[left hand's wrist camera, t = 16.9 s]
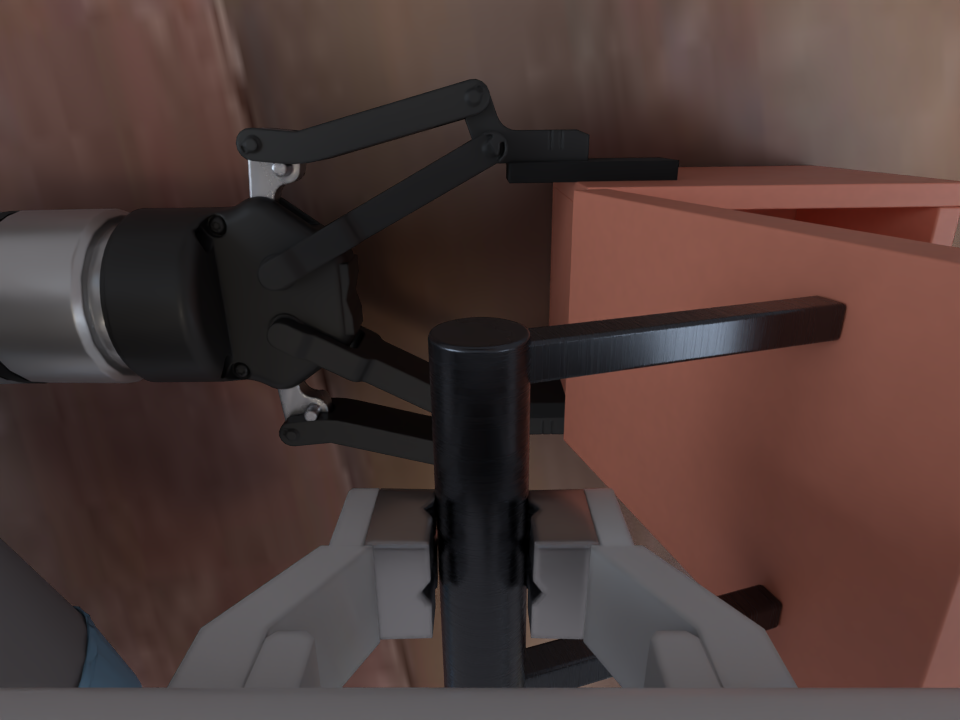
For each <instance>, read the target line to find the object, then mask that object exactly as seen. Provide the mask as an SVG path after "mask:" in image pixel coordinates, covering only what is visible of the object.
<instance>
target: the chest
mask: <svg viewBox="0 0 960 720" xmlns="http://www.w3.org/2000/svg"><path fill="white" fill-rule="evenodd" d="M587 189H611V190H617V191H623V192H629V193H635V194H641V195H647V196H653V197H659V198H665V199H671V200H677V201H683V202H689V203H695V204H701V205H707V206H713V207H719V208H725V209H730V210H736V211H742V212H748V213H754V214H760V215H766V216H772V217H778V218H784V219H790V220H796V221H802V222H808V223H814V224H820V225H826V226H832V227H838V228H844V229H850V230H856V231H862V232H868V233H874V234H880V235H886V236H892V237H898V238H904V239H909V240H915V241H921V242H927V243H933V244H939V245H945V246H951V247H952V243H953V239H954V236H955V232H956V228H957V224H958V221H959V217H960V181H953V180H944V179H934V178H925V177H915V176H906V175H897V174H887V173H878V172H869V171H859V170H850V169H840V168H831V167H822V166H811V165H805V166H733V167H678V177H677V180H659V181H589V182H557V183H553V203H552V238H551V272H550V307H549V326H554V325H563V324H568V320H569V296H570V272H571V247H572V223H573V199H574V191H575V190H587ZM560 380H561V383H562V386H563V389H564V393H565V394H566V379H560Z"/></svg>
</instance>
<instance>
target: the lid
mask: <svg viewBox="0 0 960 720" xmlns="http://www.w3.org/2000/svg"><path fill="white" fill-rule="evenodd" d="M428 349H429V370H430V392H431V413H432V434H433V455H434V476H435V497H436V518H437V539H438V560H439V581H440V602H441V623H442V645H443V666H444V687H445V688H577V687H580V686H584V685H587V684H590V683H594V682H597V681H600V680H604V679H607V678H610V677H613V676H612V675H611V674H610V673H609V671H608V670H607V669H606V668H605V667H604V666H603V664H602V663H601V662H600V661H599V660H598V658H597V657H596V656H595V655H594V654H593V653H592V651H591V650H590V649H589V648H588V647H587V645H586V644H585V643H584V642H583V640H584V639H558V640H554V641H550V642H547V643H543V644H539V645H536V646H532V647H528V648H526V599H527V588H526V553H527V543H528V535H527V515H528V487H529V431H530V383H537V382H544V381H551V380H559V379H566V394H565V418H564V441H565V442H566V443H567V444H568V445H569V446H570V447H571V448H572V449H573V450H574V451H575V452H576V453H577V454H578V456H579V457H580V458H581V459H582V460H583V461H584V462H585V463H586V464H587V465H588V466H589V467H590V468H591V469H592V470H593V472H594V473H595V474H596V475H597V476H598V477H599V478H600V479H601V480H602V481H603V482H604V483H605V484H606V485H607V487H608V488H611V489H612V490H614V492H615V495H616V496H617V497H618V498H619V499H620V500H621V501H622V503H623V504H624V505H625V506H626V507H627V508H628V509H629V510H630V511H631V512H632V513H633V514H634V515H635V516H636V517H637V519H638V520H639V521H640V522H641V523H642V524H643V525H644V526H645V527H646V528H647V529H648V530H649V531H650V532H651V534H652V535H653V536H654V537H655V538H656V539H657V540H658V541H659V542H660V543H661V544H662V545H663V546H664V547H665V548H666V550H667V551H668V552H669V553H670V554H671V555H672V556H673V557H674V558H675V559H676V560H677V561H678V562H679V563H680V564H681V566H682V567H683V568H684V569H685V570H686V571H687V572H688V573H689V574H690V575H691V576H692V577H693V578H694V579H695V581H696V582H697V583H698V584H700V585H701V586H703V587H704V588H705V589H707V590H708V591H710V592H711V593H713V594H714V595H716V596H717V597H719V598H720V599H722V600H723V601H724V602H726V603H727V604H729V605H730V606H732V607H733V608H735V609H736V610H738V611H739V612H740V613H742V614H743V615H745V616H746V617H748V618H749V619H751V620H752V621H754V622H755V623H756V624H758V625H759V626H761V627H762V628H764V629H765V631H766V632H767V634H768V636H769V638H770V639H771V641H772V643H773V645H774V647H775V648H776V650H777V652H778V654H779V655H780V657H781V659H782V661H783V662H784V664H785V666H786V668H787V669H788V671H789V673H790V675H791V676H792V678H793V680H794V682H795V683H796V685H797V687H798V688H960V248H957V247H951V246H945V245H939V244H933V243H927V242H921V241H915V240H909V239H904V238H898V237H892V236H886V235H880V234H874V233H868V232H862V231H856V230H850V229H844V228H838V227H832V226H826V225H820V224H814V223H808V222H802V221H796V220H790V219H784V218H778V217H772V216H766V215H760V214H754V213H748V212H742V211H736V210H730V209H725V208H719V207H713V206H707V205H701V204H695V203H689V202H683V201H677V200H671V199H665V198H659V197H653V196H647V195H641V194H635V193H629V192H623V191H617V190H611V189H587V190H575V191H574V199H573V223H572V247H571V272H570V296H569V320H568V324H563V325H554V326H545V327H537V328H527V327H525V326H524V325H522V324H520V323H517V322H514V321H510V320H506V319H500V318H491V317H472V318H462V319H456V320H452V321H448V322H445V323H442V324H439V325H437V326H436V327H434V328H433V329H432V330H431V331H430V333H429V336H428Z"/></svg>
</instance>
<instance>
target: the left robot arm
mask: <svg viewBox="0 0 960 720" xmlns="http://www.w3.org/2000/svg"><path fill="white" fill-rule="evenodd" d="M436 528H437V518H436V497H435V489H387V488H381V489H379V488H353V489H351V490H350V491H349V492H348V495H347V497H346V500H345V503H344V505H343V508H342V511H341V514H340V516H339V519H338V522H337V525H336V527H335V530H334V533H333V535H332V538H331V541H330V544H329V546H319V547H318V548H316V549H315V550H313V551H312V552H311V553H309V554H308V555H306V556H305V557H303V558H302V559H300V560H299V561H297V562H296V563H295V564H293V565H292V566H290V567H289V568H287V569H286V570H284V571H283V572H282V573H280V574H279V575H277V576H276V577H274V578H273V579H271V580H270V581H268V582H267V583H266V584H264V585H263V586H261V587H260V588H258V589H257V590H255V591H254V592H252V593H251V594H250V595H248V596H247V597H245V598H244V599H242V600H241V601H239V602H238V603H236V604H235V605H234V606H232V607H231V608H229V609H228V610H226V611H225V612H223V613H222V614H221V615H219V616H218V617H216V618H215V619H213V620H212V621H210V622H209V623H207V624H206V625H205V626H203V627H202V628H200V630H199V632H198V634H197V636H196V637H195V639H194V641H193V643H192V644H191V646H190V648H189V650H188V651H187V653H186V655H185V657H184V658H183V660H182V662H181V664H180V666H179V667H178V669H177V671H176V673H175V674H174V676H173V678H172V680H171V681H170V683H169V685H168V687H167V688H0V720H960V688H798V687H797V685H796V683H795V682H794V680H793V678H792V676H791V675H790V673H789V671H788V669H787V668H786V666H785V664H784V662H783V661H782V659H781V657H780V655H779V654H778V652H777V650H776V648H775V647H774V645H773V643H772V641H771V639H770V638H769V636H768V634H767V632H766V631H765V629H764V628H762V627H761V626H759V625H758V624H756V623H755V622H754V621H752V620H751V619H749V618H748V617H746V616H745V615H743V614H742V613H740V612H739V611H738V610H736V609H735V608H733V607H732V606H730V605H729V604H727V603H726V602H724V601H723V600H722V599H720V598H719V597H717V596H716V595H714V594H713V593H711V592H710V591H708V590H707V589H705V588H704V587H703V586H701V585H700V584H698V583H697V582H695V581H694V580H692V579H691V578H689V577H688V576H687V575H685V574H684V573H682V572H681V571H679V570H678V569H676V568H675V567H673V566H672V565H671V564H669V563H668V562H666V561H665V560H663V559H662V558H660V557H659V556H657V555H656V554H655V553H653V552H652V551H650V550H649V549H647V548H646V547H644V546H635V545H634V542H633V540H632V537H631V534H630V532H629V529H628V526H627V524H626V521H625V519H624V516H623V513H622V511H621V508H620V505H619V503H618V500H617V498H616V495H615V492H614V490H612V489H611V488H592V489H566V490H528V515H527V535H528V543H527V553H526V588H527V589H528V614H529V623H530V632H531V638H554V639H584V640H583V642H584V643H585V644H586V645H587V647H588V648H589V649H590V650H591V651H592V653H593V654H594V655H595V656H596V657H597V658H598V660H599V661H600V662H601V663H602V664H603V666H604V667H605V668H606V669H607V670H608V671H609V673H610V674H611V675H612V676H613V677H614V678H615V680H616V681H617V682H618V683H619V684H620V686H621V687H622V688H342V687H343V685H344V684H345V683H346V682H347V681H348V679H349V678H350V677H351V676H352V675H353V674H354V672H355V671H356V670H357V669H358V668H359V666H360V665H361V664H362V663H363V662H364V661H365V659H366V658H367V657H368V656H369V655H370V653H371V652H372V651H373V650H374V649H375V648H376V646H377V645H378V644H379V643H380V639H409V638H432V635H433V626H434V616H435V589H436V588H437V584H438V569H439V560H438V539H437V529H436Z"/></svg>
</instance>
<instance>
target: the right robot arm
mask: <svg viewBox="0 0 960 720" xmlns="http://www.w3.org/2000/svg"><path fill="white" fill-rule="evenodd" d="M463 119H465V121H466V124H467V126H468V129H469V132H470V135H471V138H472V140H470V141H469V142H467V143H465V144H464V145H462V146H460V147H458V148H457V149H455V150H453V151H452V152H450V153H448V154H447V155H445V156H443V157H442V158H440V159H438V160H436V161H435V162H433V163H431V164H430V165H428V166H426V167H425V168H423V169H421V170H420V171H418V172H416V173H414V174H413V175H411V176H409V177H408V178H406V179H404V180H403V181H401V182H399V183H398V184H396V185H394V186H393V187H391V188H389V189H387V190H386V191H384V192H382V193H381V194H379V195H377V196H376V197H374V198H372V199H371V200H369V201H367V202H365V203H364V204H362V205H360V206H359V207H357V208H355V209H354V210H352V211H350V212H348V213H347V214H345V215H343V216H342V217H340V218H338V219H337V220H335V221H333V222H332V223H330V224H328V225H326V226H324V225H322V224H321V223H319V222H318V221H316V220H315V219H313V218H312V217H310V216H309V215H307V214H306V213H304V212H303V211H301V210H300V209H298V208H297V207H295V206H294V205H292V204H291V203H289V202H288V201H286V200H285V199H283V198H281V191H282V189H283V187H284V186H285V185H286V184H288V183H291V182H295V181H298V180H300V179H301V178H302V177H303V176H304V174H305V172H306V163H310V162H315V161H320V160H325V159H330V158H334V157H337V156H341V155H344V154H347V153H351V152H354V151H358V150H361V149H364V148H368V147H371V146H375V145H378V144H381V143H385V142H388V141H392V140H395V139H398V138H402V137H405V136H409V135H412V134H415V133H419V132H422V131H426V130H429V129H432V128H436V127H439V126H443V125H446V124H449V123H453V122H456V121H460V120H463ZM236 145H237V149H238V151H239V153H240V154H241V156H243V157H244V158H245V159H247V160H248V170H249V188H250V198H248V199H246V200H244V201H243V202H241V203H240V204H238V205H236V206H234V207H208V208H143V209H138V210H135V211H133V212H131V213H130V212H127V211H124V210H121V209H68V210H21V211H8V212H0V384H15V383H132V382H138V381H140V380H142V379H145V380H147V381H151V382H222V381H235V380H245V379H249V380H255V381H259V382H262V383H264V384H266V385H269V386H271V387H273V388H276V389H278V392H279V396H280V400H281V404H282V408H283V412H284V416H285V422H284V423H283V425H282V426H281V428H280V431H279V436H280V438H281V440H282V441H283V442H284V443H285V444H287V445H289V446H302V445H312V444H322V443H335V444H339V445H344V446H349V447H353V448H358V449H363V450H368V451H372V452H377V453H382V454H386V455H391V456H396V457H400V458H405V459H410V460H415V461H419V462H424V463H429V464H433V465H434V455H433V434H432V416H427V415H422V414H418V413H413V412H409V411H404V410H400V409H395V408H391V407H386V406H382V405H377V404H372V403H368V402H363V401H359V400H354V399H348V398H331V397H330V396H329V394H328V392H327V391H326V390H317V389H313V388H311V387H309V386H308V385H307V384H306V382H305V380H306V379H307V378H309V377H310V376H311V375H313V374H314V373H315V372H317V371H318V370H319V369H321V368H324V369H326V370H328V371H331V372H333V373H335V374H337V375H339V376H341V377H344V378H346V379H348V380H351V381H354V382H361V381H362V382H366V383H369V384H371V385H373V386H375V387H377V388H379V389H381V390H384V391H386V392H388V393H390V394H392V395H394V396H397V397H399V398H401V399H403V400H405V401H407V402H410V403H412V404H414V405H416V406H418V407H420V408H423V409H425V410H427V411H429V412H431V392H430V370H429V362H427V361H425V360H423V359H421V358H419V357H416V356H414V355H412V354H410V353H408V352H406V351H404V350H402V349H400V348H398V347H396V346H393V345H391V344H389V343H387V342H385V341H384V340H382V339H381V337H380V336H379V335H378V334H377V333H375V332H373V331H371V330H369V329H367V328H365V327H363V326H360V325H361V323H362V322H363V316H362V305H361V302H360V300H359V297H358V294H357V291H356V283H357V277H358V272H359V270H358V258H357V255H354V254H353V252H352V250H351V248H353V247H354V246H356V245H358V244H359V243H361V242H362V241H364V240H365V239H367V238H369V237H370V236H372V235H374V234H376V233H377V232H379V231H381V230H382V229H384V228H386V227H388V226H389V225H391V224H393V223H395V222H396V221H398V220H400V219H401V218H403V217H405V216H407V215H408V214H410V213H412V212H414V211H415V210H417V209H419V208H420V207H422V206H424V205H426V204H427V203H429V202H431V201H433V200H434V199H436V198H438V197H439V196H441V195H443V194H445V193H446V192H448V191H450V190H452V189H453V188H455V187H457V186H458V185H460V184H462V183H464V182H465V181H467V180H469V179H471V178H472V177H474V176H476V175H477V174H479V173H481V172H483V171H484V170H486V169H488V168H490V167H491V166H493V165H495V164H496V163H506V178H507V180H508V182H509V183H557V182H589V181H659V180H677V177H678V167H679V160H673V159H666V158H660V157H657V158H588V151H589V135H588V134H586V133H584V132H581V131H579V130H511V129H508V128H506V127H505V126H504V125H503V124H502V123H501V122H500V121H499V119H498V117H497V114H496V111H495V108H494V105H493V102H492V99H491V96H490V93H489V90H488V88H487V86H486V85H485V84H484V83H483V82H482V81H480V80H477V79H470V80H466V81H463V82H460V83H456V84H453V85H450V86H446V87H443V88H440V89H436V90H433V91H430V92H426V93H423V94H420V95H416V96H413V97H410V98H406V99H403V100H400V101H396V102H393V103H390V104H386V105H383V106H380V107H376V108H373V109H370V110H366V111H363V112H360V113H356V114H353V115H350V116H346V117H343V118H340V119H336V120H333V121H330V122H327V123H323V124H320V125H317V126H313V127H310V128H307V129H303V130H300V131H299V130H287V129H276V128H246V129H244V130H242V131H241V132H240V133H239V134H238V136H237V140H236ZM564 418H565V393H564V389H563V386H562V383H561V380H560V379H559V380H551V381H544V382H537V383H530V431H529V434H564ZM0 688H142V686H141V683H140V681H139V680H138V678H137V676H136V675H135V674H134V672H133V671H132V670H131V669H130V668H129V666H128V665H127V664H126V663H125V662H124V660H123V659H122V658H121V657H120V655H119V654H118V653H117V652H116V651H115V649H114V648H113V647H112V646H111V645H110V643H109V642H108V641H107V640H106V639H105V637H104V636H103V635H102V634H101V633H100V631H99V630H98V629H97V628H96V626H95V624H94V623H93V621H92V620H91V618H90V615H89V614H87V613H85V612H84V611H83V610H82V609H81V608H80V607H77V606H72V605H71V604H70V603H69V602H68V601H66V600H65V599H64V598H63V597H62V596H61V595H60V594H59V593H58V592H57V591H56V590H55V589H54V588H53V587H52V586H51V585H50V584H48V583H47V582H46V581H45V580H44V579H43V578H42V577H41V576H40V575H39V574H38V573H37V572H36V571H35V570H34V569H33V568H31V567H30V566H29V565H28V564H27V563H26V562H25V561H24V560H23V559H22V558H21V557H20V556H19V555H18V554H17V553H16V552H15V551H13V550H12V549H11V548H10V547H9V546H8V545H7V544H6V543H5V542H4V541H3V540H2V539H1V538H0Z"/></svg>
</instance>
